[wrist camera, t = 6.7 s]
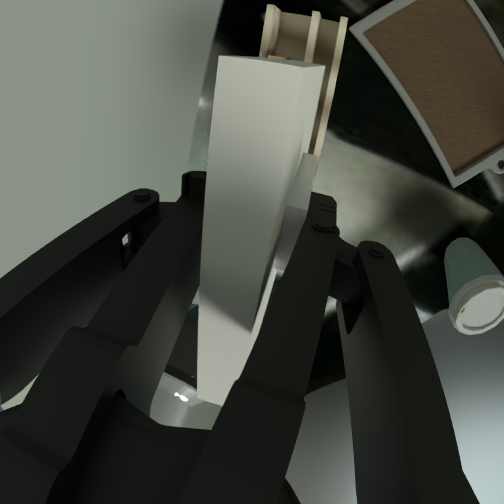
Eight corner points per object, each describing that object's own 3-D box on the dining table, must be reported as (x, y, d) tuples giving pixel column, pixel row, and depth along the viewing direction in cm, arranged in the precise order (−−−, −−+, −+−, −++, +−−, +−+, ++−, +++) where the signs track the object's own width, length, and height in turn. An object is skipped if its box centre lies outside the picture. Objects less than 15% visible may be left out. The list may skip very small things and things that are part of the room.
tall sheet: (299, 191, 30) (234, 409, 12) (282, 188, 30) (197, 397, 12) (325, 65, 23) (303, 67, 5) (306, 61, 23) (219, 55, 5)
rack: (312, 181, 47) (309, 200, 42) (253, 167, 48) (241, 184, 43) (345, 24, 33) (348, 18, 27) (277, 12, 34) (267, 4, 29)
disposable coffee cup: (494, 234, 43) (529, 291, 31) (470, 283, 49) (492, 344, 37) (445, 219, 45) (474, 277, 32) (423, 273, 51) (439, 336, 39)
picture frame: (450, -30, 23) (546, 148, 31) (447, -28, 24) (541, 145, 33) (348, 27, 33) (460, 202, 41) (347, 28, 34) (456, 198, 43)
